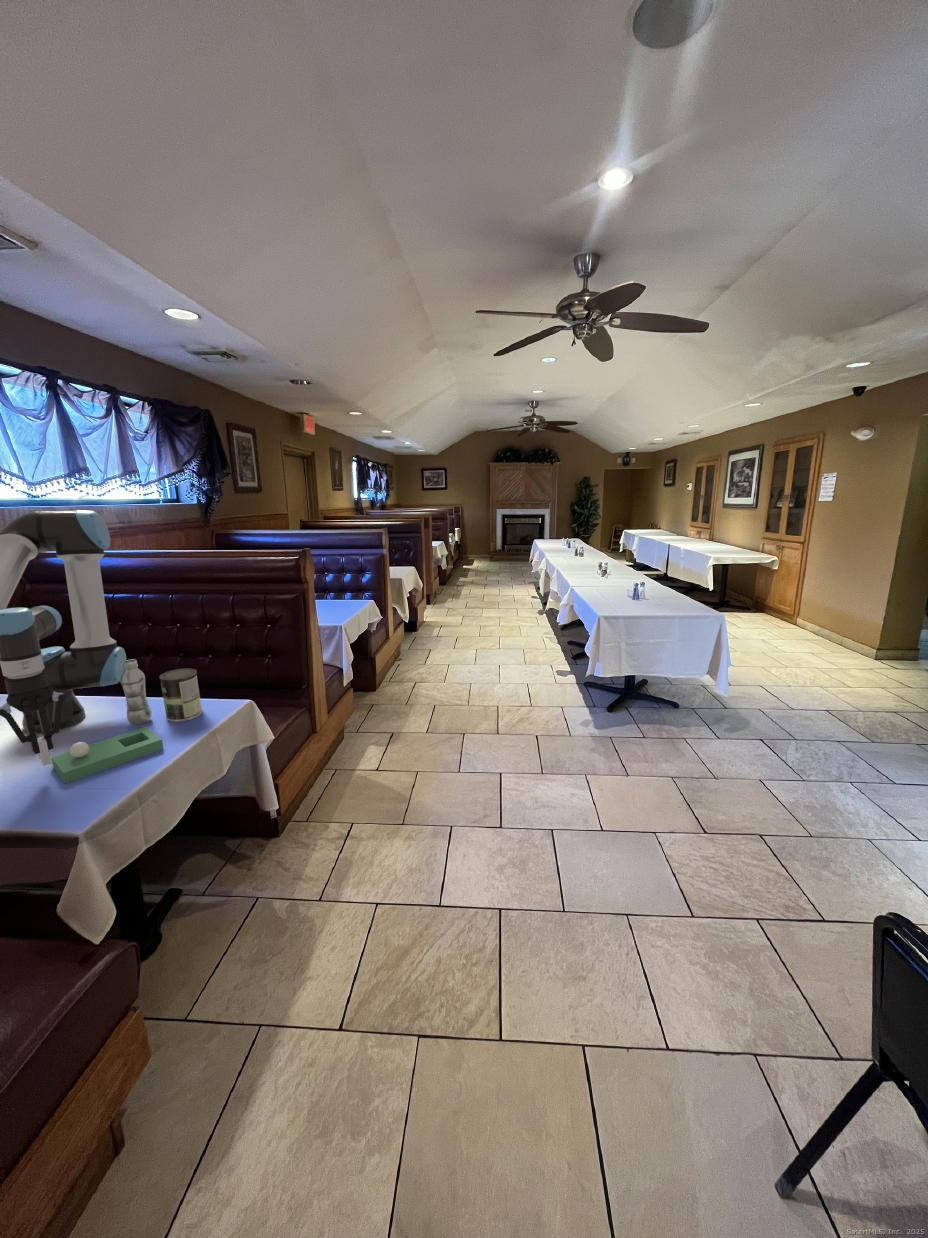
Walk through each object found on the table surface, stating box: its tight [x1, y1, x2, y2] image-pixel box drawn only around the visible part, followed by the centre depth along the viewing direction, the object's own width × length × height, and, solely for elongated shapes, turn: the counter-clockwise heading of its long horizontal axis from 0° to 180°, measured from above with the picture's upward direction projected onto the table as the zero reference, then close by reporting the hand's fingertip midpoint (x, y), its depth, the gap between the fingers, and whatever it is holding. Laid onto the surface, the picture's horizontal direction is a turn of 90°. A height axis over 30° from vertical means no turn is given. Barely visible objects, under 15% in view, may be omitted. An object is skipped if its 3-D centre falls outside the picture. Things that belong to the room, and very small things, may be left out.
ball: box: [69, 741, 89, 758], centre depth 128 cm, size 4×4×4 cm
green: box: [50, 726, 164, 785], centre depth 133 cm, size 12×22×3 cm, turn 140°
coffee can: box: [158, 667, 203, 723], centre depth 158 cm, size 10×10×14 cm
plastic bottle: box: [120, 659, 152, 725], centre depth 152 cm, size 6×7×20 cm
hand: (46, 762), depth 123 cm, fingers closed
